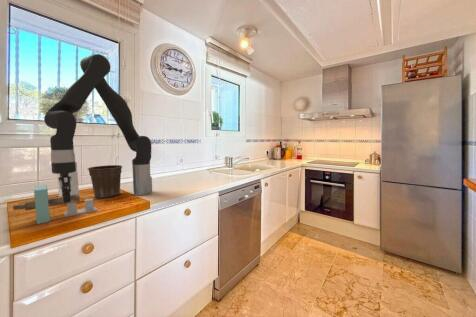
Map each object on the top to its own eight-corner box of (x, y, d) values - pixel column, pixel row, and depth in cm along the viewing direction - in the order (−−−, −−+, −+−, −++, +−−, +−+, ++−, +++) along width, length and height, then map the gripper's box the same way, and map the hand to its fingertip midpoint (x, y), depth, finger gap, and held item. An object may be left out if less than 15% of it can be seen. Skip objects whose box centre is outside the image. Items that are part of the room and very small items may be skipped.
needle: (78, 200, 89) (78, 193, 89) (79, 201, 87) (79, 194, 87) (14, 210, 76) (13, 202, 76) (13, 212, 74) (12, 204, 74)
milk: (69, 199, 108) (65, 157, 105) (58, 199, 108) (55, 157, 106) (79, 196, 114) (76, 156, 111) (69, 196, 114) (66, 156, 112)
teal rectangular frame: (49, 215, 85) (47, 185, 84) (49, 221, 79) (47, 189, 78) (37, 217, 83) (35, 186, 82) (37, 224, 76) (34, 190, 75)
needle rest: (95, 208, 94) (94, 197, 94) (97, 210, 91) (96, 199, 90) (64, 214, 87) (63, 202, 86) (64, 216, 83) (63, 204, 83)
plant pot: (85, 200, 105) (83, 169, 104) (93, 193, 120) (92, 165, 119) (121, 197, 111) (120, 168, 110) (125, 190, 126) (124, 164, 125)
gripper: (77, 161, 81) (79, 202, 82) (73, 159, 91) (76, 195, 93) (51, 163, 76) (54, 206, 77) (50, 160, 86) (53, 198, 88)
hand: (66, 200), depth 85 cm, fingers open, 8 cm apart
